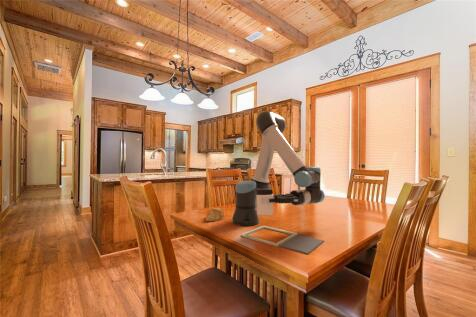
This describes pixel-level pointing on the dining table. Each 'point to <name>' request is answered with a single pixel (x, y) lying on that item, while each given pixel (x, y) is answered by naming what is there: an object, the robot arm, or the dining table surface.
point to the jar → (263, 208)
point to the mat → (302, 244)
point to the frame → (269, 241)
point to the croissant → (215, 214)
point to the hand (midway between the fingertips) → (262, 200)
